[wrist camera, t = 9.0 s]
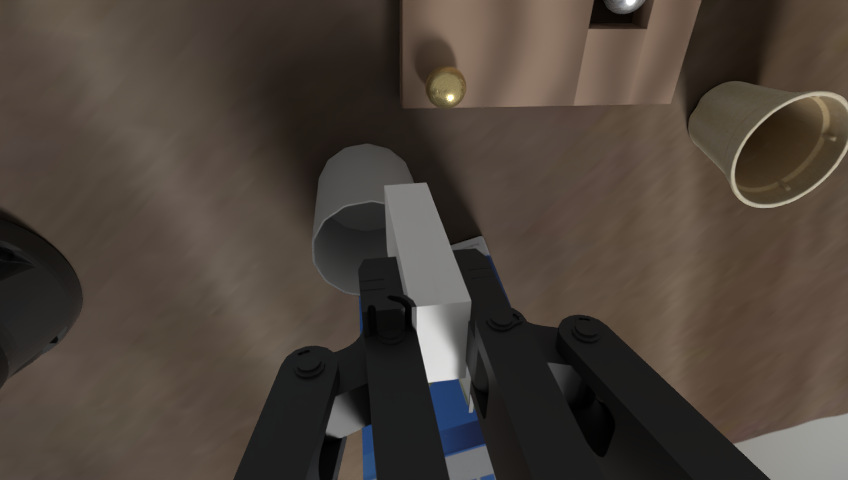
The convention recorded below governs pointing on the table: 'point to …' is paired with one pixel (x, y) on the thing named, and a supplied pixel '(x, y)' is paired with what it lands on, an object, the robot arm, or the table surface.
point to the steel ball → (623, 5)
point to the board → (544, 51)
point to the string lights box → (450, 415)
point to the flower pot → (771, 139)
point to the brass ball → (445, 87)
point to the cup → (353, 212)
